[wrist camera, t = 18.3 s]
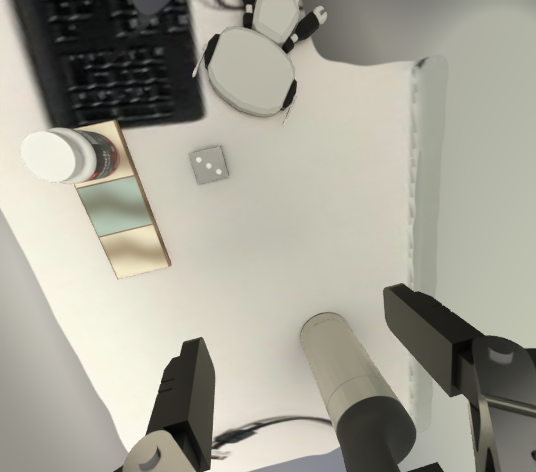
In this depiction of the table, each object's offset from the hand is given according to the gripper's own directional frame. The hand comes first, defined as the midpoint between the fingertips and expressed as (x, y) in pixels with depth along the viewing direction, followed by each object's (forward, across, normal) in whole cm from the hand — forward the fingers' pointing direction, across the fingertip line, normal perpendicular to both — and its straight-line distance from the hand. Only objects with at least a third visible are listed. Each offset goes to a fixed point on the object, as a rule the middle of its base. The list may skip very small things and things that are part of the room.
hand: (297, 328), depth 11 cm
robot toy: (+30, -6, -18) cm, 36 cm away
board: (+30, +18, -4) cm, 35 cm away
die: (+30, +4, -6) cm, 31 cm away
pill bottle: (+29, +18, -10) cm, 36 cm away
